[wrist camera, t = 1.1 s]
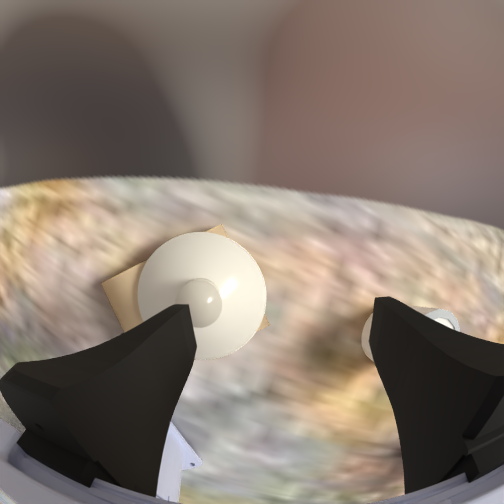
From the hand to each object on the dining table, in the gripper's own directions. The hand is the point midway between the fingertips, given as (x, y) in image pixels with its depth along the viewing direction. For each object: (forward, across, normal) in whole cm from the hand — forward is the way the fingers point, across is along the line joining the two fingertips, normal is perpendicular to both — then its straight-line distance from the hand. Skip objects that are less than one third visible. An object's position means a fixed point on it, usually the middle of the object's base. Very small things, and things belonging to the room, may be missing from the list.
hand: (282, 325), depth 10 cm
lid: (+8, +6, +3) cm, 10 cm away
